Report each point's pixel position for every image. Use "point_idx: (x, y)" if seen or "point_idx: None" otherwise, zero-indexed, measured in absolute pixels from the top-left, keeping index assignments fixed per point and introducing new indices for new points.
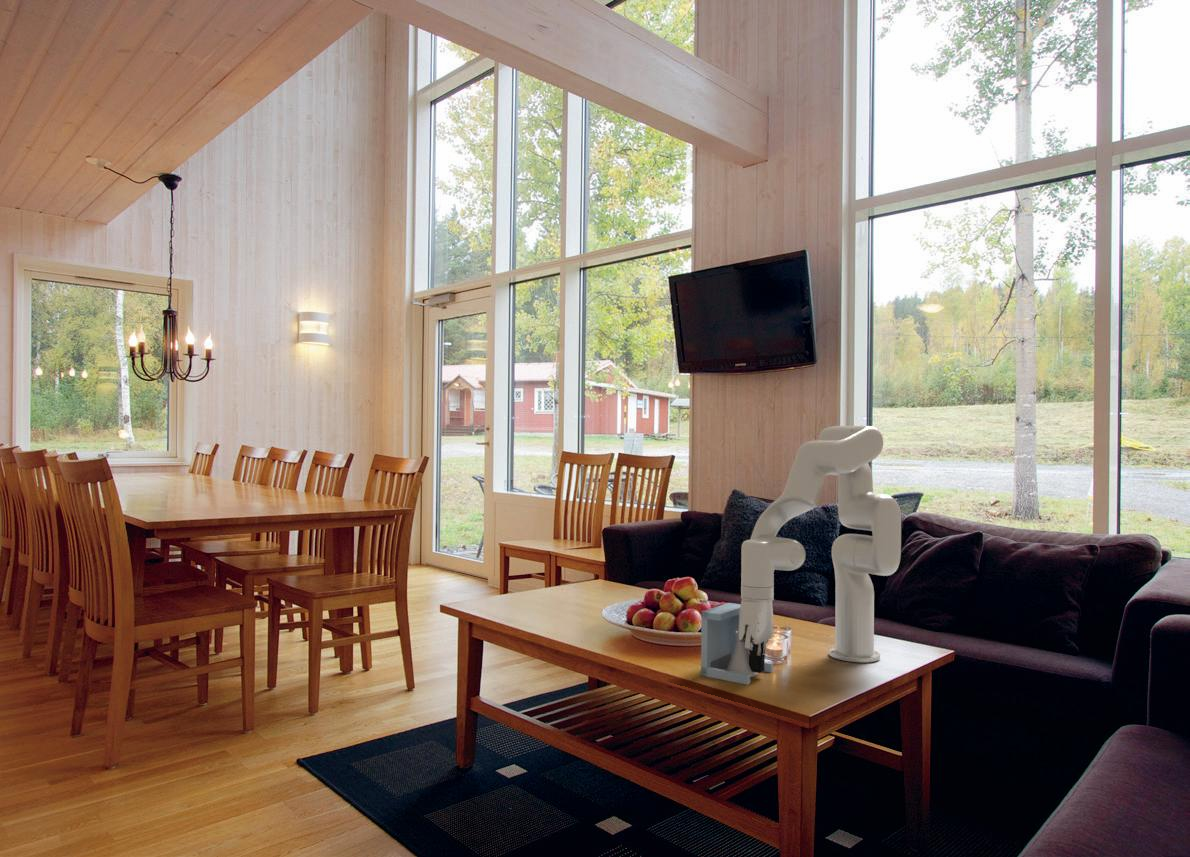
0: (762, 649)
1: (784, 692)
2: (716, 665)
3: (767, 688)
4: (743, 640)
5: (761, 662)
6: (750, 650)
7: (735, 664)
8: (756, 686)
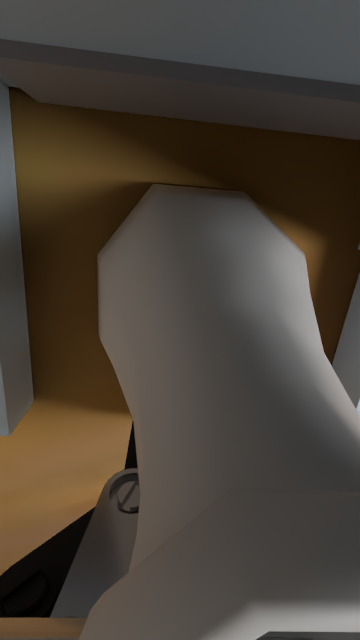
0: None
1: (18, 549)
2: (106, 91)
3: (21, 486)
4: (32, 623)
5: None
6: (57, 556)
7: (107, 298)
8: (13, 439)
